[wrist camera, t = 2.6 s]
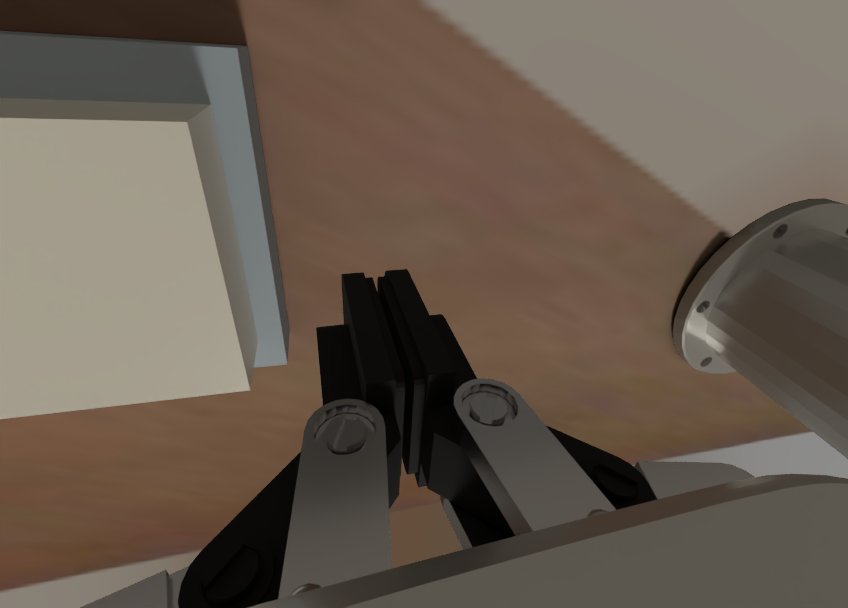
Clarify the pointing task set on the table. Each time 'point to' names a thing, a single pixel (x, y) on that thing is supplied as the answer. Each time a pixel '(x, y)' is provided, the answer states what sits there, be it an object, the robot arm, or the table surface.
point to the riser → (173, 83)
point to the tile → (117, 258)
